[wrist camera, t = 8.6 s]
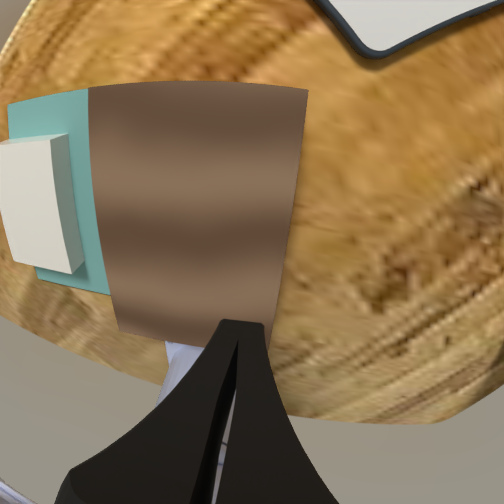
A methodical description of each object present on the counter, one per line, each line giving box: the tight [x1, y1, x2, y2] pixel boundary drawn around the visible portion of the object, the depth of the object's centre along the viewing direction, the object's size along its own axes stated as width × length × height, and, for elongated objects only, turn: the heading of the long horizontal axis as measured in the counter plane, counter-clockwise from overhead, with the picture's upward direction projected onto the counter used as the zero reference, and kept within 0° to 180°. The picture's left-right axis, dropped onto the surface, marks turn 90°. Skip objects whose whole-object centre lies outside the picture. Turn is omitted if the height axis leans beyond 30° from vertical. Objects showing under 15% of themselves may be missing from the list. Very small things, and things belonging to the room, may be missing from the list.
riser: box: [88, 81, 308, 353], centre depth 17 cm, size 16×10×4 cm, turn 175°
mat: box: [8, 89, 110, 295], centre depth 19 cm, size 16×10×1 cm, turn 175°
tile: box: [0, 133, 85, 274], centre depth 18 cm, size 10×7×2 cm
